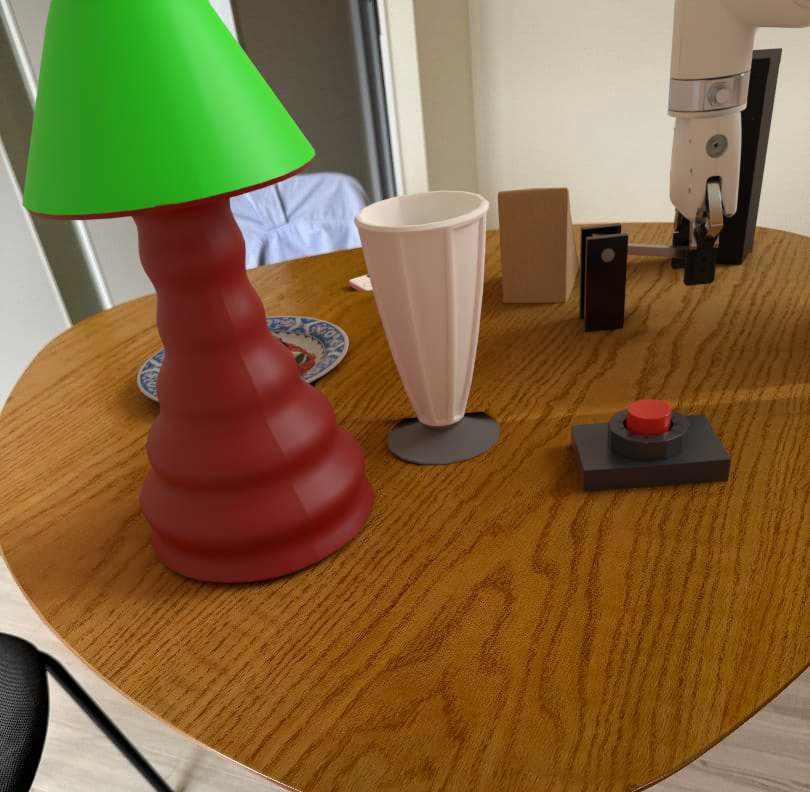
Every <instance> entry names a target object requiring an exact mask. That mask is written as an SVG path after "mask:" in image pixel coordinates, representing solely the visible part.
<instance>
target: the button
mask: <svg viewBox="0 0 810 792" xmlns="http://www.w3.org/2000/svg"><path fill="white" fill-rule="evenodd" d="M626 408H627V423H626V427H627V429H628V430H629V431H631V432H633V433H635V434H641V435H647V436H648V435H660V434H662V433H665V432H667V431H668V430H669V429H670V421H671V409H672V406H671V405H670V404H669V403H668V402H665V401H663V400H659V399H654V398H653V399H651V398H646V399H639V400H635V401H633V402H631V403H630V404H629V405H628V406H627V407H626Z"/></svg>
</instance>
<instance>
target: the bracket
mask: <svg viewBox="0 0 810 792" xmlns="http://www.w3.org/2000/svg"><path fill="white" fill-rule="evenodd" d="M591 233H597V234H611V235H602V236H592V237H591ZM579 234H580V235H579V236H580V238H579V239H580V240H579V244H580V245H579V294H578V295H579V297H578V298H579V299H578V300H579V301H578V318H579V320H583V331H584V333H592V332H601V331H603V332H604V331H613V330H623V329H625V328H624V327H625V311H626V310H625V307H626V288H627V273H628V255H627V254H628V243H629V234H628V232H622V224H621V223H620V222H616V223H607V224H597V225H589V226H580V233H579Z"/></svg>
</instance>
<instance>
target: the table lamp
mask: <svg viewBox="0 0 810 792" xmlns="http://www.w3.org/2000/svg"><path fill="white" fill-rule="evenodd" d="M49 2H50V3H49V7H48V13H47V17H46V21H45V22H46V23H45V27H44V28H45V29H44V36H43V44H42V52H41V58H40V59H41V60H40V65H39V66H40V67H39V73H38V82H37V90H36V97H35V105H34V112H33V119H32V126H31V134H30V143H29V150H28V156H27V157H28V158H27V165H26V173H25V181H24V189H23V197H22V207H24V208H25V210H26V211H27V212H28V213H29V214H30V215H32V216H35V217H38V218H41V219H44V220H45V219H46V220H55V221H94V220H95V221H96V220H111V219H119V218H129V217H131V218H132V219H133V222H134V224H135V226H136V231H137V245H138V246H137V247H138V256H139V260H140V264H141V266H142V268H143V271H144V273H145V274H146V276H147V277H148V279H149V281H150V283H151V284H152V286H153V288H154V290H155V293H156V300H157V301H156V312H155V313H156V317H155V318H156V320H155V321H156V326H157V332H158V335H159V338H160V339H161V343H162V345H163V348H164V351H165V356H164V360H163V363H162V365H161V368H160V371H159V373H158V377H157V381H156V393H157V398H158V401H159V402H158V405H159V407H160V408H159V409H160V410H159V414H158V415H157V417H156V419H155V420H154V422H153V424H152V425H151V426H150V428H149V432H148V434H147V439H146V441H145V448H146V457H147V460H148V462H149V464H150V466H151V467H150V469H149V471H148V473H147V475H146V476H145V478H144V479H143V482H142V486H141V491H140V494H139V505H140V506H139V507H140V511H141V513H142V516H143V517H144V519H145V521H146V522H147V524H148V526H149V527H150V528H151V530H150V540H151V542H150V543H151V548H152V550H153V551H154V553H155V555H156V556H157V558H158V560H159V561H160V562H161V563H163V564H164V565H165V566H166V567H167V568H168V569H169V570H171V571H174V572H176V573H178V574H180V575H182V576H183V577H186V578H188V579H192V580H196V581H202V582H206V583H220V584H221V583H222V584H239V583H242V584H243V583H256V582H263V581H267V580H274V579H279V578H282V577H284V576H288V575H290V574H294V573H296V572H299V571H302V570H303V569H306V568H308V567H310V566H313V565H315V564H317V563H319V562H321V561H322V560H324V559H326V558H328V557H330V556H331V555H333V554H334V553H336V552H338V551H339V550H341V549H342V548H343V547H344V546H346V545H347V544H349V543H350V542H351V541H352V540H354V539H355V537H356V536H357V535H358V533H359V532H360V531H361V529H362V528H363V527H364V526H365V525H366V523H367V521H368V519H369V518H370V515H371V513H372V511H373V506H374V502H375V501H374V500H375V494H374V489H373V485H372V484H371V482H370V480H369V478H368V477H367V475H366V474H365V470H366V458H365V453H364V449H363V447H362V445H361V444H360V442H359V440H358V439H357V438H356V436H355V435H353V434H352V432H350V431H349V430H348V429H346V428H345V427H344V426H342V425H340V424H338V423H337V422H336V417H335V411H334V407H333V404H332V403H331V402H330V400H329V399H328V397H327V396H326V395H325V394H324V393H323V392H322V391H320V389H318V388H317V387H315V386H313V385H312V384H311V383H307V382H305V381H304V380H302V379H301V378H300V374H299V370H298V366H297V363H296V360H295V358H294V356H293V354H292V353H291V352H290V350H289V349H288V348H287V347H286V346H285V345H284V344H283V343H282V342H280V341H279V340H278V339H277V338H276V337H275V336H274V335H273V334H272V333H271V332H270V331H269V328H268V326H267V321H266V317H267V315H266V311H265V307H264V303H263V301H262V299H261V298H260V295H259V294H258V292H257V291H256V289H255V287H254V286H253V284H252V283H251V281H250V279H249V277H248V274H247V268H246V267H247V265H246V260H247V259H246V258H247V257H246V256H247V252H246V251H247V248H246V240H245V237H244V235H243V234H244V233H243V232H242V229H241V228H240V226H239V223H238V222H237V220H236V217H234V213H233V211H232V208H231V198H234V197H238V196H243V195H244V194H248V193H249V194H250V193H252V192H256V191H259V190H262V189H265V188H268V187H271V186H273V185H277V184H279V183H281V182H284V181H286V180H288V179H291V178H292V177H295V176H297V175H299V174H301V173H302V172H303V171H305V170H307V169H308V168H309V167H310V166H311V165H312V164H313V162H314V161H315V157H316V150H315V148H314V147H313V146H312V144H311V143H310V142H309V140H308V139H307V137H306V136H305V134H304V133H303V131H302V130H301V129H300V127H299V126H298V125H297V124H296V122H295V121H294V119H293V117H292V116H291V115H290V113H289V112H288V110H287V109H286V107H284V105H283V103H282V102H281V101H280V100H279V97H277V96H276V94H275V92H274V91H273V90H272V88H271V87H270V85H269V84H268V82H266V80H265V78H264V77H263V76H262V74H261V73H260V72H259V70H258V69H257V67H256V66H255V64H254V63H253V62H252V60H251V59H250V57H249V56H248V54H247V53H246V52H245V50H244V49H243V48H242V46H241V45H240V43H239V42H238V41H237V39H236V38H235V36H234V35H233V34H232V32H231V31H230V29H229V28H228V26H227V25H226V23H225V22H224V21H223V20H222V18H221V16H220V15H219V14H218V13H217V11H216V10H215V8H214V7H213V6H212V4H211V3H210V1H209V0H50V1H49Z"/></svg>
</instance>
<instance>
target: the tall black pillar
mask: <svg viewBox="0 0 810 792" xmlns="http://www.w3.org/2000/svg"><path fill="white" fill-rule="evenodd" d="M759 29H760V27H756V28H755V35H756V34H757V33H758V31H759ZM782 54H783V47H779V48H778V47H777V48H776V47H775V48H764V49H753V53H752V62H751V69H750V78H749V87H748V96H747V105H746V109H744V110H742V111H740V113H741V157H740V172H739V186H738V199H737V209H736V212H735V214H734V215H733V216H732V217H726V216H725V215H724V214H723V213H722V216H723V227H722V229H721V231H720V235H719V245H718V249H717V259H716V265H731V266H732V265H733V266H735V265H736V266H742V264H743V263H744V262H745V260H746V258H747V257H748V255H749V254H753V250H754V243H755V235H756V229H757V221H758V217H759V216H758V215H759V208H760V203H761V202H760V201H761V195H762V188H763V181H764V173H765V167H766V160H767V152H768V146H769V139H770V132H771V126H772V118H773V112H774V107H775V98H776V91H777V86H778V85H777V84H778V78H779V70H780V64H781V61H782ZM702 217H707V216H706V211H703V215H702ZM705 224H706V223H703V224H701V226H700V229H701V228H702V227H705ZM700 229H698V230H700Z"/></svg>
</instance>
